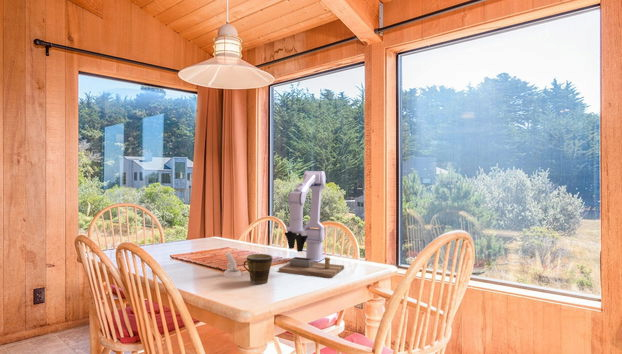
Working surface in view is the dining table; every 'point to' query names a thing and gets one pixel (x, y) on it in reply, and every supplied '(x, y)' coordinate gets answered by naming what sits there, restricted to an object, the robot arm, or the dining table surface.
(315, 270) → the keeper board
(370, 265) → the dining table surface
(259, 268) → the ceramic cup
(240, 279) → the dining table surface
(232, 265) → the hook
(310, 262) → the silver rectangular frame
